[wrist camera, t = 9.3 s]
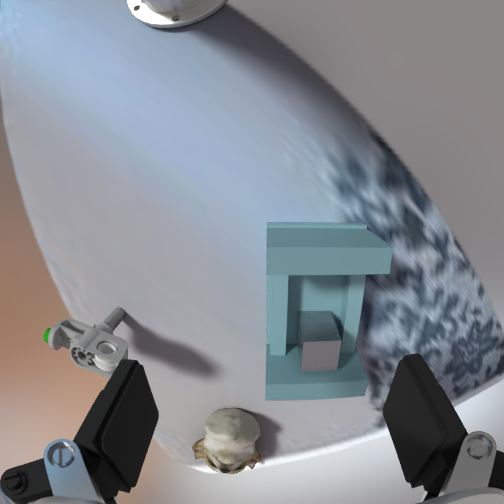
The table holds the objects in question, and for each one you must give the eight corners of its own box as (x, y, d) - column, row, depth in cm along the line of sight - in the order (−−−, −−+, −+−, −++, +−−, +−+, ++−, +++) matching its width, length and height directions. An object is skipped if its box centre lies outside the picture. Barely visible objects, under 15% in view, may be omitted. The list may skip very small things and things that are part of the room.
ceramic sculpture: (276, 454, 29) (253, 497, 34) (277, 403, 37) (257, 455, 42) (184, 439, 29) (184, 485, 34) (199, 389, 37) (195, 444, 42)
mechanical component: (86, 291, 34) (41, 328, 24) (158, 315, 34) (126, 365, 24) (86, 310, 35) (44, 350, 25) (156, 335, 35) (125, 386, 25)
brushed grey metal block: (298, 311, 32) (303, 341, 26) (330, 310, 31) (341, 340, 26) (296, 338, 33) (300, 371, 27) (327, 337, 32) (336, 370, 27)
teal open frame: (267, 222, 30) (266, 243, 22) (363, 223, 30) (393, 243, 22) (266, 355, 35) (265, 402, 27) (347, 353, 34) (363, 397, 26)
